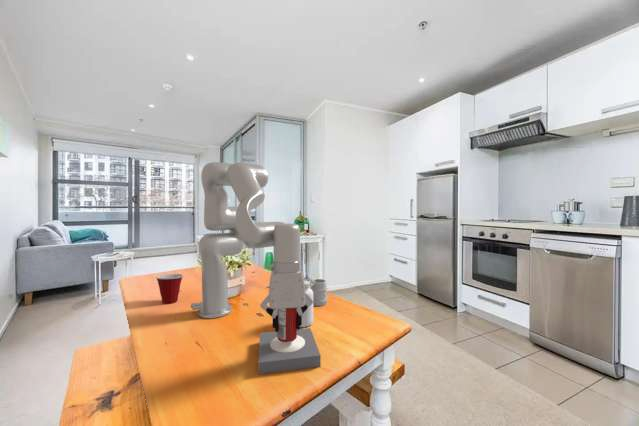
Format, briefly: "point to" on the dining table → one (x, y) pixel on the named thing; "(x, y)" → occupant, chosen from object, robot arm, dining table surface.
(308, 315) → the pill bottle
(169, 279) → the plastic cup
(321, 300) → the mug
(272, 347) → the base
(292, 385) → the dining table surface
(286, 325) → the soda can
